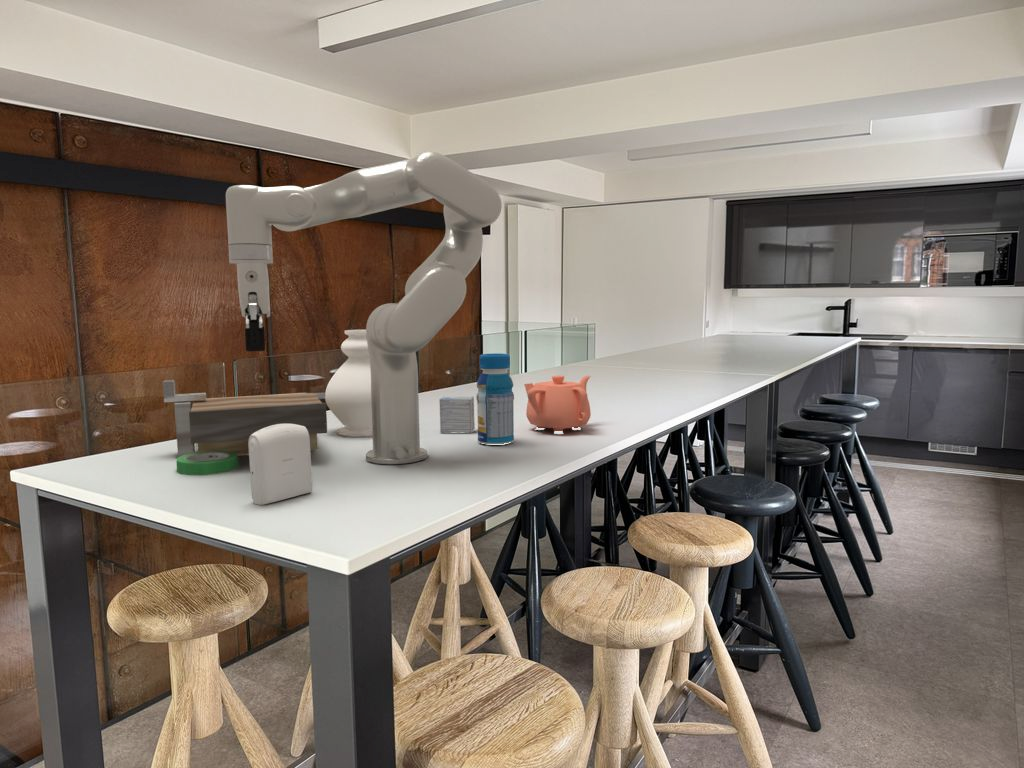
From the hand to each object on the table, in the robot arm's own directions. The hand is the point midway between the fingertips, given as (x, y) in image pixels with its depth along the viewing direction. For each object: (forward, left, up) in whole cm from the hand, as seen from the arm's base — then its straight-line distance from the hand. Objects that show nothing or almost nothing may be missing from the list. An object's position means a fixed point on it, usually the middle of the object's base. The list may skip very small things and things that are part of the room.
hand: (256, 349), depth 133 cm
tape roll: (+9, +10, -24) cm, 28 cm away
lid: (+16, 0, -18) cm, 24 cm away
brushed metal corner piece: (+24, +14, -12) cm, 30 cm away
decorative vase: (+34, -25, -24) cm, 49 cm away
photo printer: (-19, -2, -24) cm, 31 cm away
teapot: (+17, -70, -24) cm, 76 cm away
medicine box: (+24, -46, -24) cm, 57 cm away
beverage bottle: (+8, -50, -24) cm, 56 cm away
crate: (+28, +2, -24) cm, 37 cm away
